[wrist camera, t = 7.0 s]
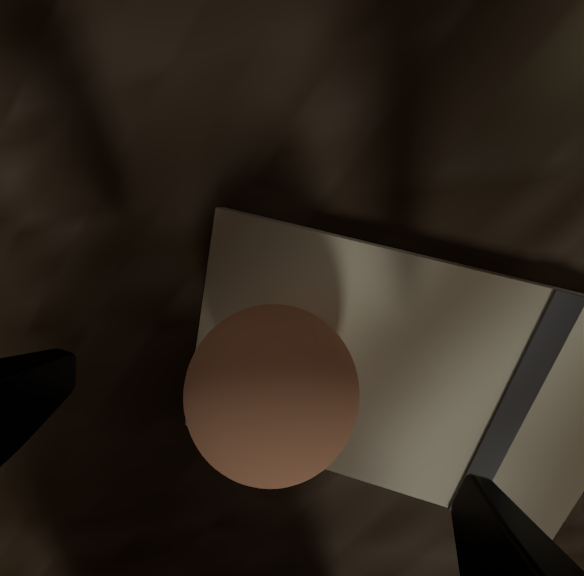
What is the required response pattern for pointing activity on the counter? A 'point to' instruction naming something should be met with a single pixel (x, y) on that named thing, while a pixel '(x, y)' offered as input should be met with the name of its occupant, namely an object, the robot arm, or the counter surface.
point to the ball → (271, 396)
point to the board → (427, 359)
